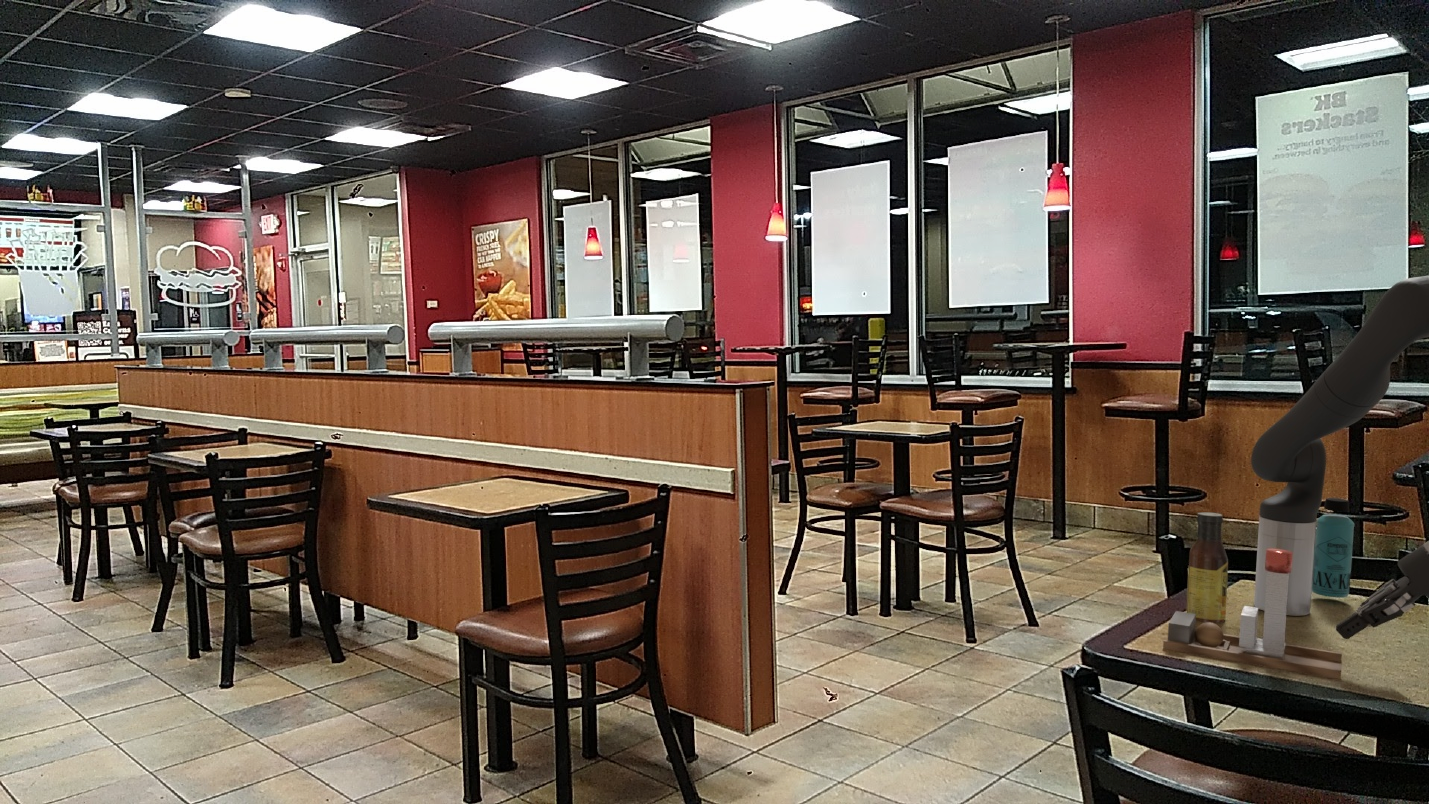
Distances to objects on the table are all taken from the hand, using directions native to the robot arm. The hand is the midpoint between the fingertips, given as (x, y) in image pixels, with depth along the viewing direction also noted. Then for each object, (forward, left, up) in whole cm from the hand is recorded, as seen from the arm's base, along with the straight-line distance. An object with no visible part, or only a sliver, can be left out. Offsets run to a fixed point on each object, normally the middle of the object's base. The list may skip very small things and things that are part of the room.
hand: (1340, 633), depth 151 cm
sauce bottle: (-25, -10, -7) cm, 28 cm away
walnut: (-8, -16, -6) cm, 18 cm away
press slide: (-4, -9, -5) cm, 11 cm away
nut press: (-5, -10, -7) cm, 14 cm away
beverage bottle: (-46, +20, -7) cm, 51 cm away
